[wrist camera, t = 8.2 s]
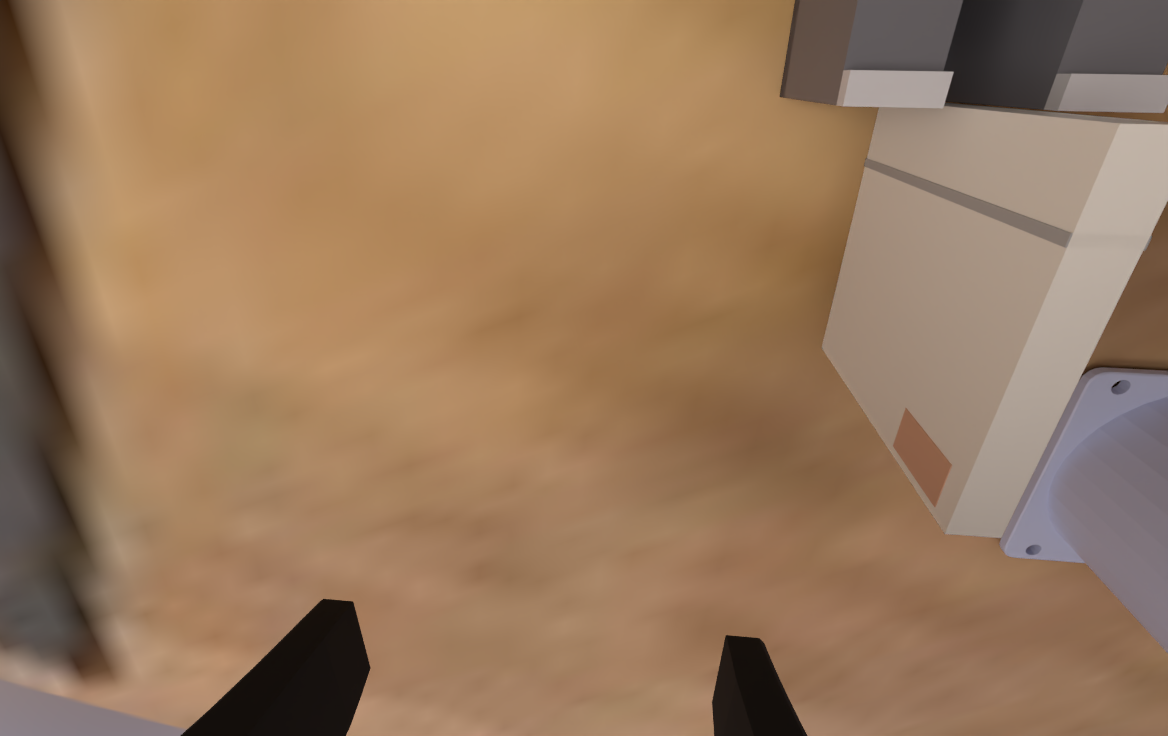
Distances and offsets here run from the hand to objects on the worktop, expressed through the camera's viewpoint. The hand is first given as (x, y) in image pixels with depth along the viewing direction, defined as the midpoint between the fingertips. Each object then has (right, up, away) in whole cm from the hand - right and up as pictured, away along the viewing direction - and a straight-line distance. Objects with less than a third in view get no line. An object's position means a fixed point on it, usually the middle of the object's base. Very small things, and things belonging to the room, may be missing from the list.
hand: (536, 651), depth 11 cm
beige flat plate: (+9, +9, +5) cm, 14 cm away
